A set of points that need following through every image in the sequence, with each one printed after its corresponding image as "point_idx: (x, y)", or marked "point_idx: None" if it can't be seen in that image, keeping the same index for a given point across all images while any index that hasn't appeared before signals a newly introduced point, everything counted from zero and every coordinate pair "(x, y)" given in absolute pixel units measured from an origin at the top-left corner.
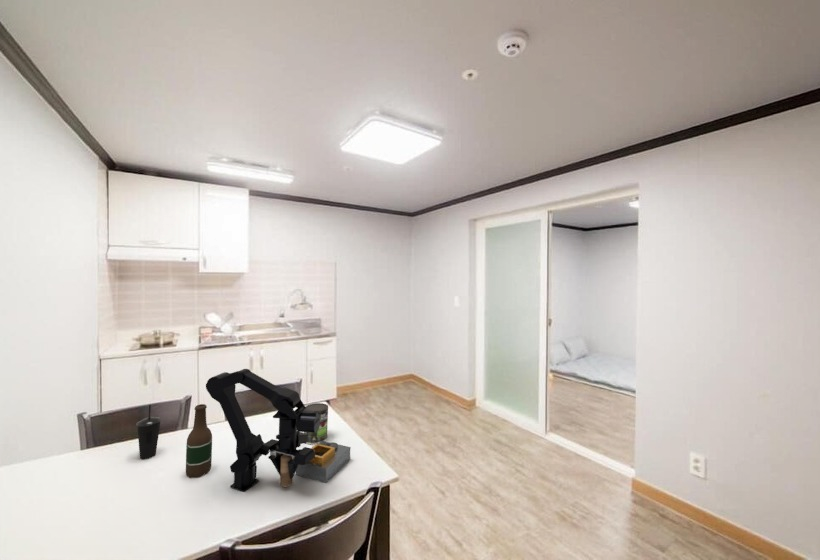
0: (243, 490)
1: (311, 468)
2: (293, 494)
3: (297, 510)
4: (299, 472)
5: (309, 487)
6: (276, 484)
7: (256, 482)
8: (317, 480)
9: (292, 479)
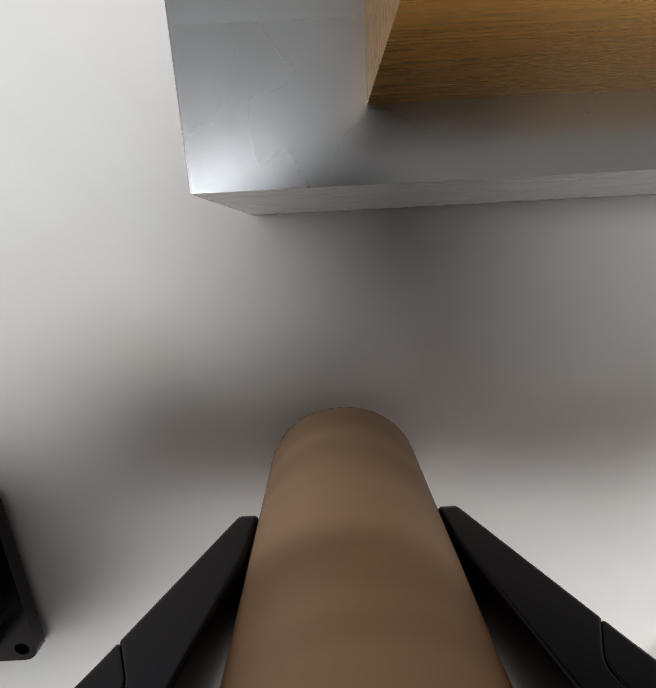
0: (31, 656)
1: (609, 179)
2: (488, 494)
3: (650, 617)
4: (317, 208)
5: (583, 344)
6: (207, 453)
7: (6, 531)
8: (613, 195)
9: (421, 472)
